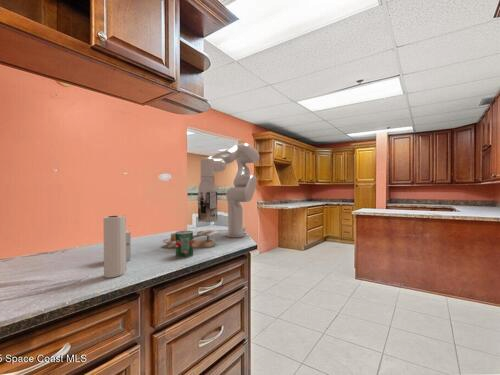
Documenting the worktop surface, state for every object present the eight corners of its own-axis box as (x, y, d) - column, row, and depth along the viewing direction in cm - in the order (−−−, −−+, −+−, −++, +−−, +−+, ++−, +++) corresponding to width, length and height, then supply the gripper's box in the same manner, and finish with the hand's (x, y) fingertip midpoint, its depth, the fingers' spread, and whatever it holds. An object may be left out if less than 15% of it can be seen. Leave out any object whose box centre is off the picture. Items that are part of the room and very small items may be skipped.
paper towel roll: (103, 279, 84) (103, 217, 85) (104, 274, 90) (103, 216, 90) (126, 275, 88) (126, 216, 88) (126, 270, 93) (125, 214, 93)
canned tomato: (196, 255, 114) (196, 231, 114) (182, 259, 108) (182, 234, 108) (186, 252, 119) (186, 230, 119) (172, 256, 113) (171, 232, 113)
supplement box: (112, 264, 101) (112, 234, 101) (106, 261, 106) (106, 232, 106) (131, 260, 107) (130, 231, 107) (124, 257, 112) (124, 229, 112)
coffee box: (217, 221, 135) (217, 191, 135) (210, 222, 129) (209, 192, 129) (205, 220, 140) (205, 191, 140) (197, 221, 134) (197, 192, 134)
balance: (160, 248, 127) (160, 235, 127) (166, 243, 139) (166, 231, 139) (218, 247, 129) (218, 234, 129) (219, 242, 141) (219, 230, 141)
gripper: (212, 180, 144) (212, 211, 144) (191, 179, 129) (191, 213, 129) (222, 180, 140) (222, 211, 140) (202, 179, 125) (202, 214, 125)
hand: (207, 212), depth 135 cm, fingers closed on coffee box, 6 cm apart
